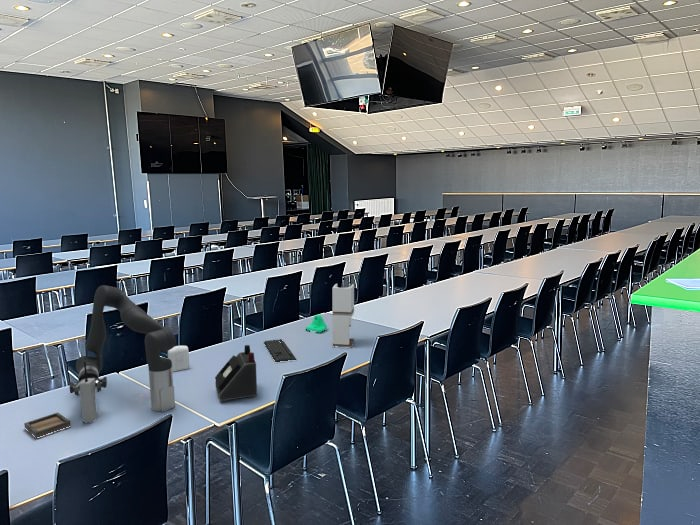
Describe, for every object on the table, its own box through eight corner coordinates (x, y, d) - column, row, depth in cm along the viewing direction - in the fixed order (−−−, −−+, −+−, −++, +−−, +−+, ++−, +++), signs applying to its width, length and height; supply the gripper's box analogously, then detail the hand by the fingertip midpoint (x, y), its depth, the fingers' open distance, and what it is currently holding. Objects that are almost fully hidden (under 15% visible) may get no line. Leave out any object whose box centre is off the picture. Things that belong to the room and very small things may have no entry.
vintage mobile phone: (98, 417, 204) (93, 358, 200) (92, 423, 199) (87, 362, 195) (89, 417, 203) (83, 358, 199) (82, 423, 199) (77, 363, 195)
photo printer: (188, 366, 260) (186, 343, 258) (190, 368, 256) (189, 345, 254) (167, 370, 254) (166, 346, 252) (169, 373, 251) (168, 349, 249)
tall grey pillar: (351, 348, 287) (350, 288, 282) (332, 347, 289) (332, 287, 283) (354, 342, 298) (353, 284, 293) (336, 341, 300) (336, 283, 294)
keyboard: (296, 361, 268) (296, 358, 267) (275, 364, 264) (275, 360, 264) (282, 341, 301) (282, 338, 300) (263, 343, 297) (263, 340, 296)
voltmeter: (215, 389, 231) (213, 347, 227) (250, 384, 236) (249, 343, 233) (219, 403, 216) (217, 359, 213) (257, 398, 222) (255, 354, 218)
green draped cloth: (304, 331, 320) (304, 315, 319) (311, 328, 327) (311, 313, 325) (320, 334, 314) (319, 318, 312) (327, 331, 320) (326, 315, 319)
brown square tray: (70, 427, 195) (70, 421, 195) (36, 439, 186) (35, 433, 186) (58, 418, 203) (57, 412, 203) (24, 429, 194) (24, 423, 193)
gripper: (68, 371, 208) (66, 386, 193) (106, 365, 214) (107, 379, 199) (70, 388, 209) (67, 404, 194) (108, 382, 215) (108, 397, 201)
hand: (87, 391), depth 197 cm, fingers open, 6 cm apart
